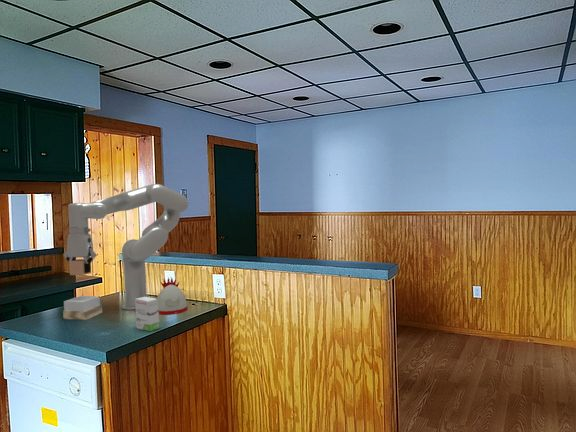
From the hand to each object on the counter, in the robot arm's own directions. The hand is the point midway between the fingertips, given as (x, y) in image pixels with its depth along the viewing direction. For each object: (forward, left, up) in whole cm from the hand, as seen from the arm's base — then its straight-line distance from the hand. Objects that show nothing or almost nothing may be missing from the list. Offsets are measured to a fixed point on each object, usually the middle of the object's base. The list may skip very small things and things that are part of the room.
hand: (80, 271), depth 183 cm
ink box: (-38, +14, -20) cm, 45 cm away
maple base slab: (0, 0, -20) cm, 20 cm away
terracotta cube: (0, 0, -1) cm, 1 cm away
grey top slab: (0, 0, -16) cm, 16 cm away
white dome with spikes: (-36, -11, -20) cm, 43 cm away
